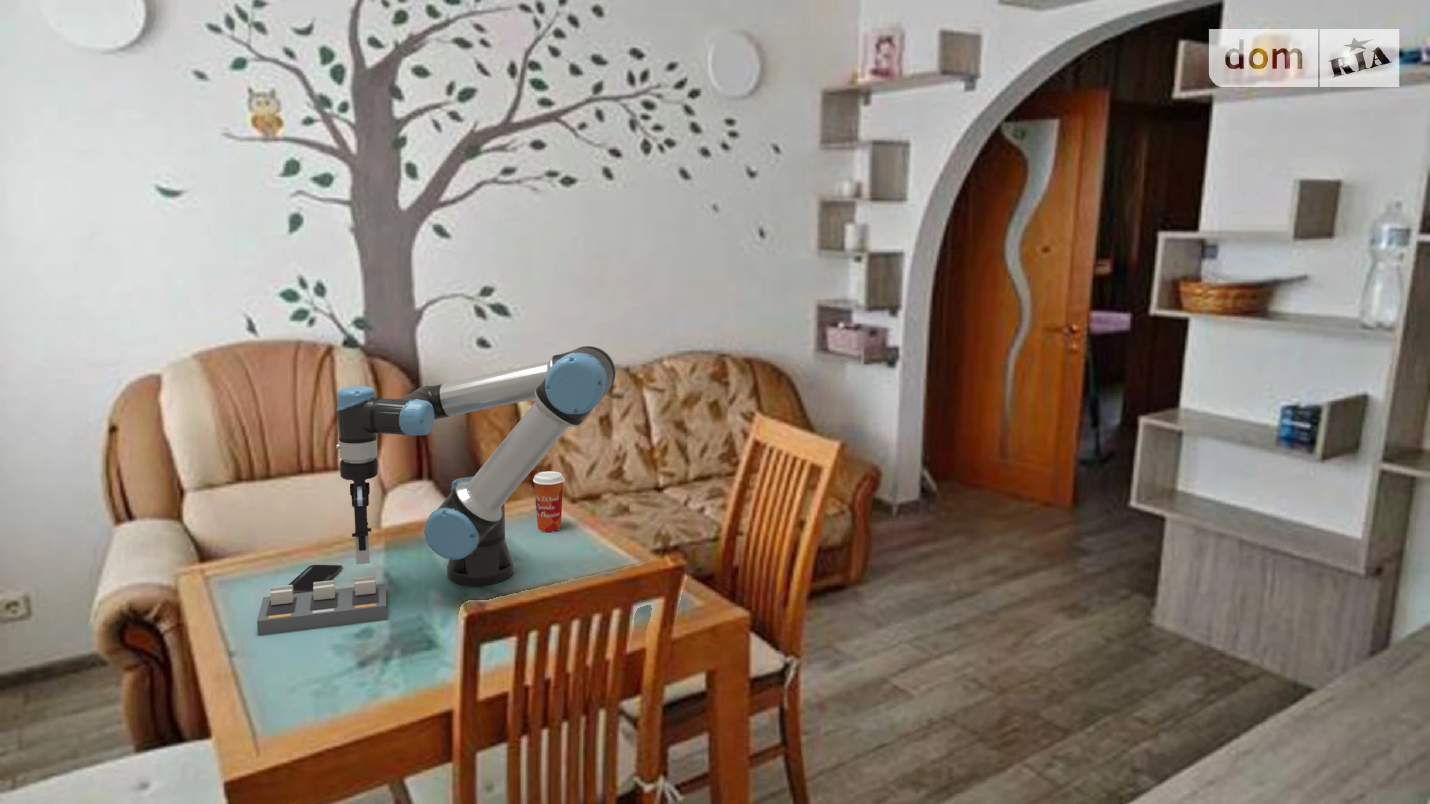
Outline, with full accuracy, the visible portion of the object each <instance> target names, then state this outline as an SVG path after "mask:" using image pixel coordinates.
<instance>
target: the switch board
mask: <svg viewBox="0 0 1430 804" xmlns="http://www.w3.org/2000/svg"><path fill="white" fill-rule="evenodd" d="M375 588H376V593H374V594H365V595H356V596H355V586H352V587H351V586H350V587H344V588H343V587H341V588H335V598H330V599H321V600H314V594H313V592H305V593H296V594H294V599H293V603H286V604H278V605H271V595H269V596H263V597H262V601H261V605H260V608H259V611H258V615H257V620H256V625H257V635H258V636H264V635H271V634H280V633H287V632H288V633H289V632H294V631H303V630H311V629H312V630H313V629H320V628H328V627H337V626H344V625H352V624H362V623H367V622H374V621H375V622H376V621H377V622H378V621H384V620H385V621H386V620H388V611H387V610H388V607H387V595H386V594H387V593H386V592H387V590H386V583H379V584H378V583H377V584H375Z"/></svg>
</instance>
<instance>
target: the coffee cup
mask: <svg viewBox="0 0 1430 804" xmlns="http://www.w3.org/2000/svg"><path fill="white" fill-rule="evenodd" d="M532 481H533V484H534V496H535V507H536V508H535V512H536V521H537V530H538V529H539V530H541V531H545V532H544V533H553V532H552V531H556V530H558V529H560V530H561V528H562V527H561V526H562V512H563V510H562V509H563V492H564V491H563V490H564V482H566V479H565V478H564V476H563V474H562V473H561V472H559V471H553V470H552V471H550V470H549V471H541V472H538V473H536V474H535V475H534V477H533V479H532ZM539 530H538V531H539ZM541 531H540V532H541ZM558 531H559V530H558ZM556 532H557V531H556Z"/></svg>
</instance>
